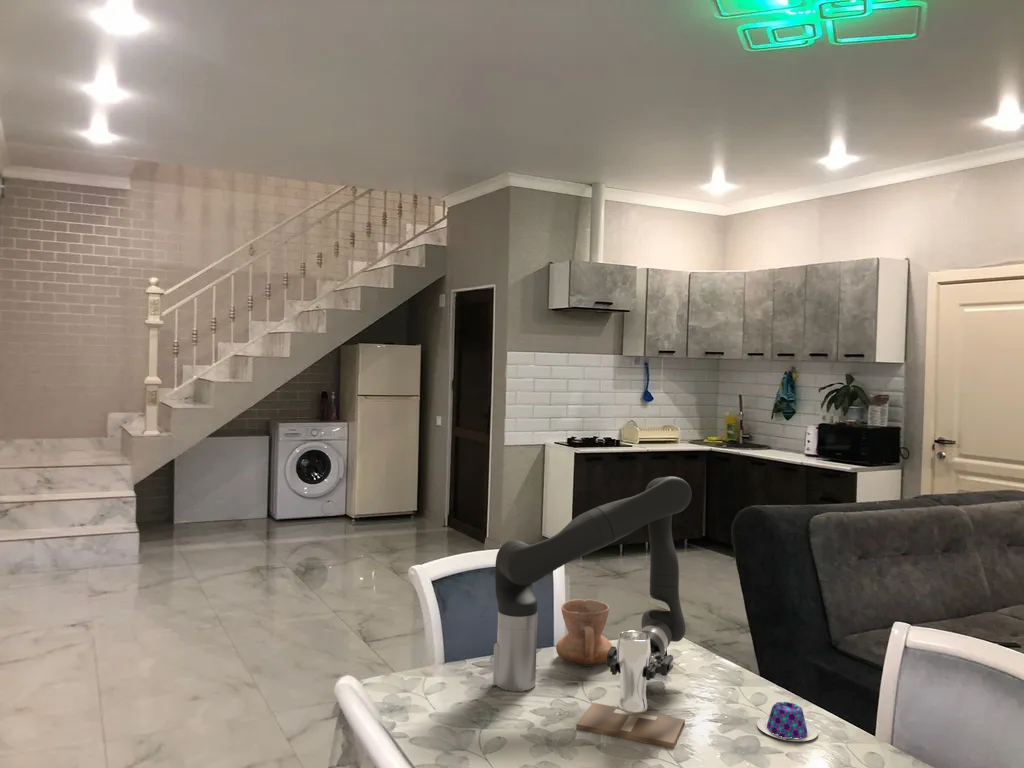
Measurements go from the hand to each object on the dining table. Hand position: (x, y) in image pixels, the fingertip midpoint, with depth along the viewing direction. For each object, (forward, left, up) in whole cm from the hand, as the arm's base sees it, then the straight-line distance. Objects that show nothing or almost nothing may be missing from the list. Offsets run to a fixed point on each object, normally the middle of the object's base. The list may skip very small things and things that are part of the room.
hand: (630, 672), depth 164 cm
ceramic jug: (-20, +35, -12) cm, 42 cm away
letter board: (0, +2, -12) cm, 12 cm away
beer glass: (0, +2, -8) cm, 9 cm away
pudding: (+30, +15, -12) cm, 35 cm away
